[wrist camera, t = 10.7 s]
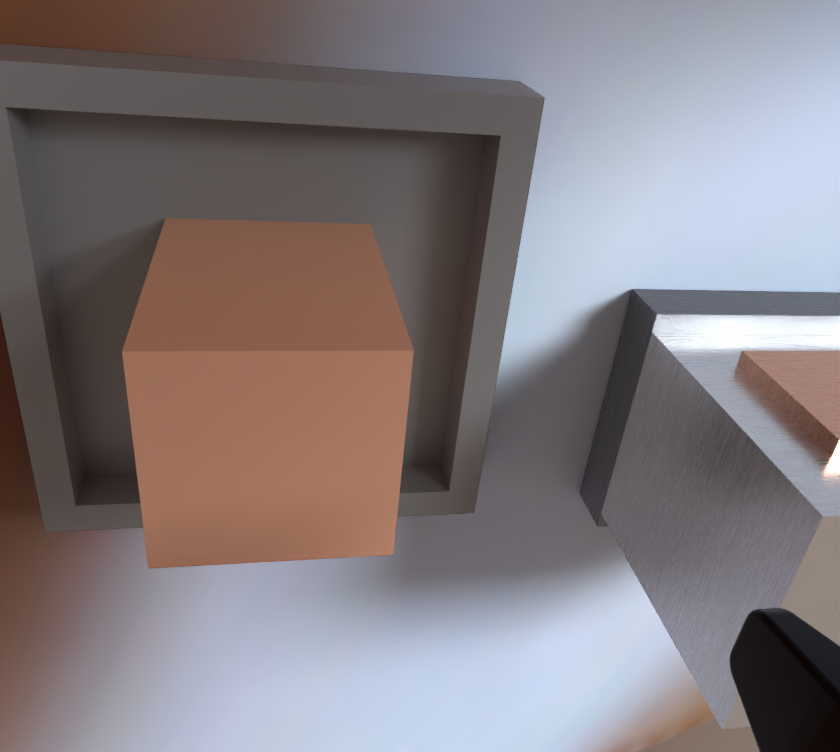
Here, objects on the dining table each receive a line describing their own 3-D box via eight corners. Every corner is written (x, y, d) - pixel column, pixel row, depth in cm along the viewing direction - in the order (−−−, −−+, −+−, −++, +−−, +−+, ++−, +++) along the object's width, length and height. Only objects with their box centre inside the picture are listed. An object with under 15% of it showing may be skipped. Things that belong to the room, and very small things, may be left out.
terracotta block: (370, 223, 17) (413, 350, 12) (360, 390, 20) (393, 554, 15) (165, 217, 17) (121, 351, 11) (179, 392, 19) (148, 568, 14)
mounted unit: (890, 293, 22) (1195, 478, 15) (804, 484, 25) (1017, 709, 18) (632, 289, 20) (833, 494, 13) (579, 494, 24) (715, 743, 17)
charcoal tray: (519, 81, 17) (544, 97, 15) (460, 472, 22) (474, 513, 21) (-20, 42, 15) (-52, 56, 13) (61, 485, 20) (44, 532, 19)
